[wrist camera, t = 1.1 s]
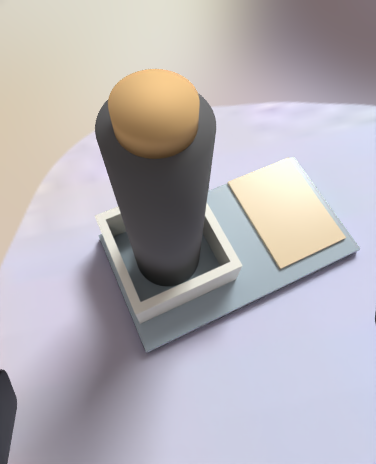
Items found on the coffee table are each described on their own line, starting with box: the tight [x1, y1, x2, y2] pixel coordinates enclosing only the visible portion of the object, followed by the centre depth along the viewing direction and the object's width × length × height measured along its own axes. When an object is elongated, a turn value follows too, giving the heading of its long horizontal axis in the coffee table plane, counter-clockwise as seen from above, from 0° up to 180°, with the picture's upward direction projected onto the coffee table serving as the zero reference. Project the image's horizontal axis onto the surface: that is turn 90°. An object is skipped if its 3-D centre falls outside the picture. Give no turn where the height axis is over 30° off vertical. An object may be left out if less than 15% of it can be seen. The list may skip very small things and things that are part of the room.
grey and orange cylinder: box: [95, 69, 216, 286], centre depth 17 cm, size 4×4×13 cm
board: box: [95, 157, 360, 353], centre depth 22 cm, size 8×15×3 cm, turn 115°
